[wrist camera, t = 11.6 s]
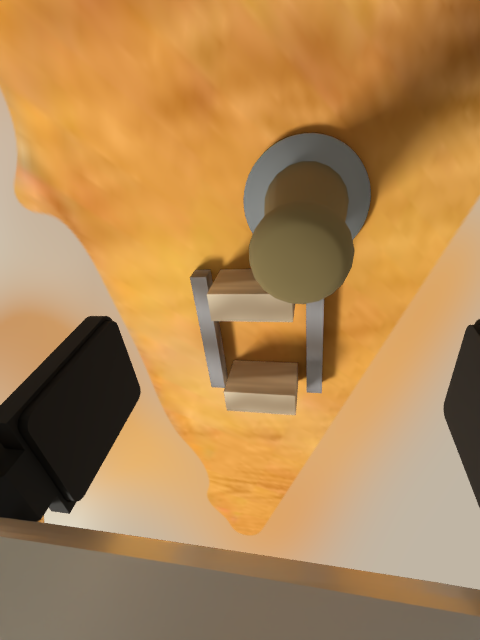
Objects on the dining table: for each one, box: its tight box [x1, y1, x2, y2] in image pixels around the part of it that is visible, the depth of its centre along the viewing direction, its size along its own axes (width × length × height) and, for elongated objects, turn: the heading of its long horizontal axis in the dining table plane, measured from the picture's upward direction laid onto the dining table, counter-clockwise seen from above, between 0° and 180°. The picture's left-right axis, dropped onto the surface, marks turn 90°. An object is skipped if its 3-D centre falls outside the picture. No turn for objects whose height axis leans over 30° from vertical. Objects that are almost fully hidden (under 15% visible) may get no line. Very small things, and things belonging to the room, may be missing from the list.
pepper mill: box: [249, 161, 354, 304], centre depth 21 cm, size 6×6×11 cm
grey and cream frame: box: [190, 269, 324, 415], centre depth 31 cm, size 12×11×4 cm
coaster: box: [244, 133, 371, 240], centre depth 25 cm, size 9×9×1 cm
